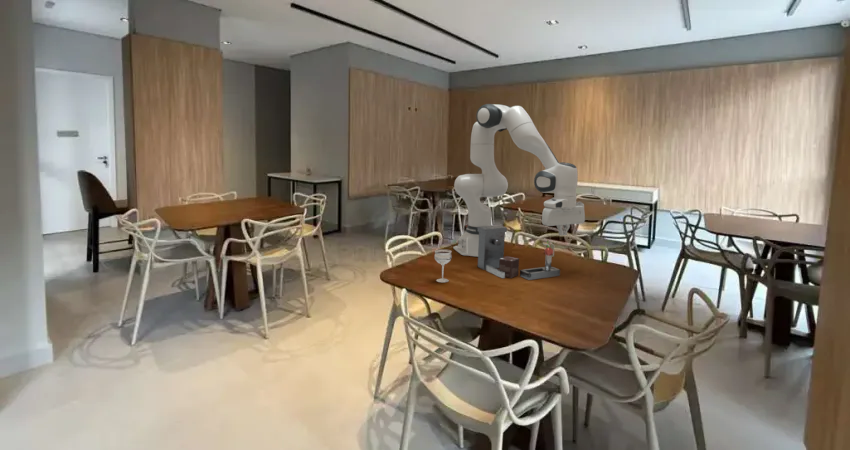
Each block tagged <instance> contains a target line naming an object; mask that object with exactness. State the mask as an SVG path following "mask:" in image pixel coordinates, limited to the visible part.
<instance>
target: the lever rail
mask: <svg viewBox="0 0 850 450" xmlns="http://www.w3.org/2000/svg"><path fill="white" fill-rule="evenodd" d="M544 268H545V266H542V267H540V266H539V267H533V268H525V269H520V270H519V277H521V278H524V279H525V280H527V281H532V280H538V279H547V278H554V277H559V276H560V275H561V269H559V268H556V267H554V266H552V265H551V269H554V270H547V271H542V269H544Z"/></svg>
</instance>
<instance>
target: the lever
mask: <svg viewBox="0 0 850 450" xmlns="http://www.w3.org/2000/svg"><path fill="white" fill-rule="evenodd" d="M544 254H545V260H544V262H545V263H544V267H545V268H544V269H542V271H547V270H554V269H551V266H552V254H553V249H552V248H550V247H548V248H546V247H545V249H544Z"/></svg>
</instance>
